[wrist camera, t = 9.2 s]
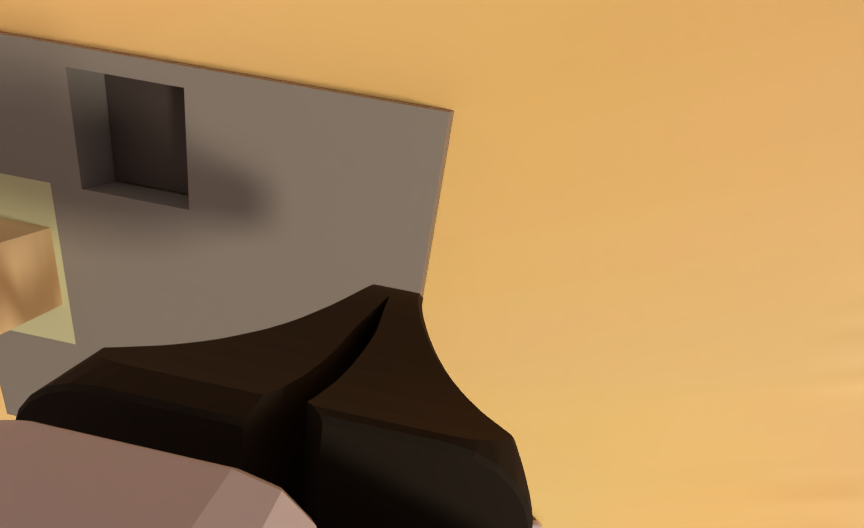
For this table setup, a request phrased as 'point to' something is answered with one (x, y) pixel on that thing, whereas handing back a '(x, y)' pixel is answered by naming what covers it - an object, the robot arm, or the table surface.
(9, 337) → the trap board
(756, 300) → the table surface
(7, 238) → the maple block
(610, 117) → the table surface
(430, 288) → the table surface
